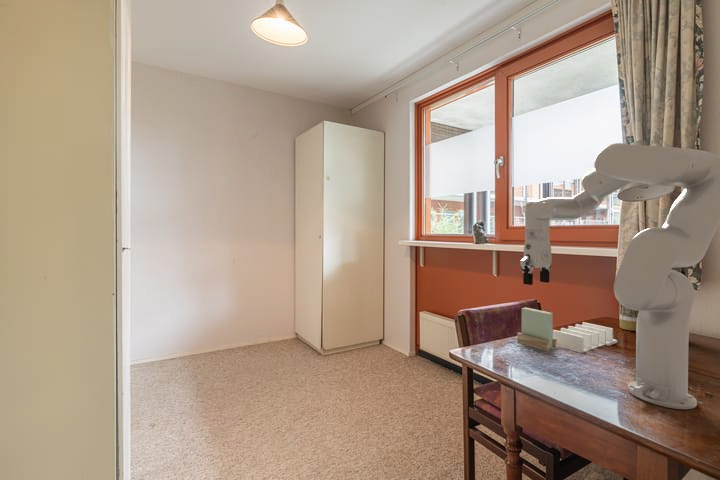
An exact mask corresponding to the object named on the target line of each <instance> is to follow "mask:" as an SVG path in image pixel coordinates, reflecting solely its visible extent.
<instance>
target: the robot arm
mask: <svg viewBox="0 0 720 480" xmlns="http://www.w3.org/2000/svg"><path fill="white" fill-rule="evenodd" d="M593 165H594V166H593V167H594V168H593V169H592V170H590V171H588V172H586V173H585V174H584V175H583V176H582V178H581V185H582V188H583V190H582V191H581V192H579V193H578V194H576V195H574V196H572V197H546V198H542V199H535V200H532V199H531V200H528V201H527V202H526V203H525V216H524V217H525V218H524V219H525V221H524V223H525V227H524V228H525V230H524V232H525V233H524V234H525V236H524V237H525V238H524V239H525V240H524V247H523V256H522V257H523V258H521V260H520V261H519V263H520V269H521V270H522V271H521V272H522V273H523V276H522V277H523V278H522V279H523V280H522V281H523V283H522V284H523V285H528V286H533V284H534V277H533V276H534V273H533V271H534V269H535V268H536V269H540V271H539V281H540V282H541V283H547V284H549V283H550V272H551V267H552V263H553V258H552V245H551V240H550V221H574V220H577V219H579V218H582V217H584V216H585V215H588V214H589V213H591V212H593V211H595V210H596V209H597V208H598V207H599V206H600V205H601V204H602V203H603V201H604V199H605V198H606V197H608V196H609V195H611V194H613V193H615V192H616V191H619V190H620V189H623V188H624V187H626V186H627V185H630V184H631V183H633V182H634V183H640V184H644V185H652V186H661V187H662V186H663V187H665V186H666V187H680V188H682V189H683V191H682V192H681V194H680V195H678V197H677V198H676V199H675V200H674V202H673V204H672V205H671V207H670V210H669V212H668V214H667V216H666V219H665V221H664V223H663V225H662V226H654V227H653V226H652V227H649V228H646V229H643V230H641V231H639V232H638V233H637V234H635V235H634V237H632V238H631V240H630V241H629V243H628V245H627V248H626V250H625V252H624V255H623V258H622V260H621V262H620V265H619V268H618V271H617V274H616V275H615V279H614V282H613V293H614V297H615V298H616V300H617V301H618V303H619V305H620V304H622V305H623V306H624V307H626V308H628V309H631V310H637V311H639V313H638V317H637V325H636V331H635V332H636V333H635V334H636V338H635V341H636V342H635V348H636V349H635V380H633V381H630V382H628V383H627V390H628V391H629V393H630V394H631V395H633V396H635V397H636V398H638V399H640V400H642V401H645V402H647V403H650V404H652V405H657V406H659V407H660V406H661V407H664V408H668V409H674V410H675V409H676V410H692V409H695V408H697V407H698V406H697V405H698V400H697V399H696V397H694V396H693V395H692V394H690V393H688V392H689V391H688V389H689V388H688V387H689V338H690V336H689V335H690V318H691V313H692V308H693V304H694V301H695V288H694V284H693V282H692V281H691V280H690V279H689V277H688V278H687V277H686V276H685V274H683V273H682V272H681V271H680V272H677V271H674V270H671V269H672V268H680V269H681V268H685V267H688V268H689V267H693V266H695V265H698V264H699V263H700V262H701V261H702V260H703V258H704V257H705V256H706V253H707V251H708V249H709V246H710V244H711V241H712V240H713V238H714V236H715V233H716V231H717V229H718V227H719V225H720V156H719V155H717V154H715V153H712V152H711V151H707V150H701V149H694V148H683V147H673V146H659V145H657V146H656V145H644V144H643V145H641V144H640V145H639V144H630V143H624V142H623V143H621V142H617V143H612V144H609V145H607V146H605V147H603V148H602V149H601V150H600V151H598V153H597V155H596V156H595V158H594V161H593Z"/></svg>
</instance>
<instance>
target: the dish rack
mask: <svg viewBox="0 0 720 480" xmlns="http://www.w3.org/2000/svg"><path fill="white" fill-rule="evenodd" d="M553 338H557V347H559V348H560V347H561V348H563V349H567V350H571V351H574V352H578V353H580V354H581V353H584V352H587V351H590V350H593V349H596V348H599V347H602V346H609V347H610V346H612V345H616V344H618V339H615V338H614V328H613V327H609V326H603V325H599V324H595V323H589V322H585V321H584V322H583V321H582V324H578V323H575V325H574V326H572V325H568V326H567V328H565V327H561V328H560V330H558V329H557V330H556V329H553Z"/></svg>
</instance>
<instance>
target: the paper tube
mask: <svg viewBox="0 0 720 480" xmlns="http://www.w3.org/2000/svg"><path fill="white" fill-rule="evenodd" d="M638 313H639V311H637V310H631V309H628V308H626V307H624V306H623V305H622V304H620V303H619V328H621V329H623V330H626V331H632V332H636V325H637V317H638Z"/></svg>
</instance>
